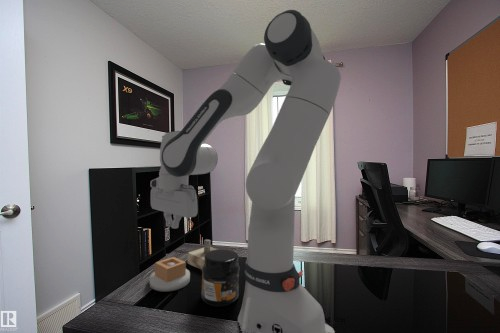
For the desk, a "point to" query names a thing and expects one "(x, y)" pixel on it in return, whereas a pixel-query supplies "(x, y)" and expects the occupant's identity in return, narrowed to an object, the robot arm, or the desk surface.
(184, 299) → the desk surface
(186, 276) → the hub
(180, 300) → the desk surface
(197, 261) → the stand
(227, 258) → the supplement container
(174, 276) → the orange square hollow block
